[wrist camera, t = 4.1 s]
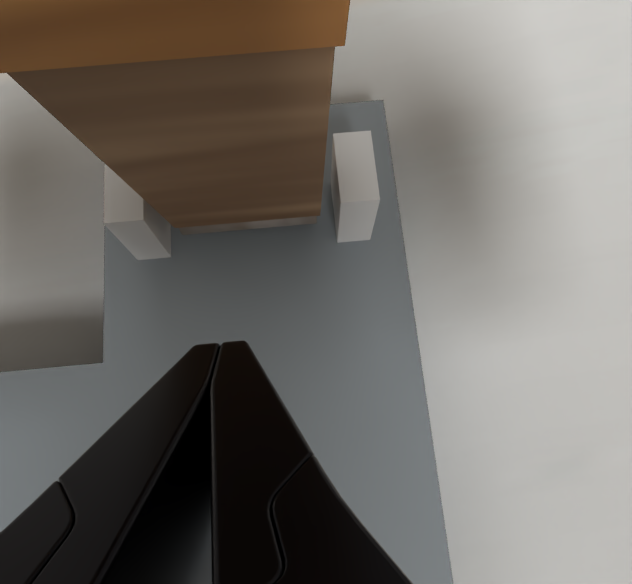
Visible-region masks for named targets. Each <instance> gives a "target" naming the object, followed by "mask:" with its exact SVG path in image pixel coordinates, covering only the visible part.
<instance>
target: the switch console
mask: <svg viewBox="0 0 632 584" xmlns="http://www.w3.org/2000/svg"><path fill="white" fill-rule="evenodd" d="M103 223H104V224H105V243H104V323H103V363H94V364H83V365H72V366H61V367H50V368H39V369H29V370H18V371H7V372H0V532H1V531H2V530H4V529H5V528H6V527H7V526H8V525H9V524H10V523H11V522H12V521H13V520H14V519H15V518H16V517H18V516H19V515H20V514H21V513H22V512H23V511H24V510H25V509H26V508H27V507H28V506H29V505H30V504H31V503H33V502H34V501H35V500H36V499H37V498H38V497H39V496H40V495H41V494H42V493H43V492H44V491H45V490H46V489H47V488H48V487H49V486H50V485H51V484H52V483H53V482H55V481H58V482H59V480H58V479H59V477H60V476H61V475H62V474H63V473H64V472H65V471H66V470H67V469H68V468H69V467H70V466H71V465H72V464H73V463H74V462H75V461H76V460H77V459H78V458H79V457H80V456H81V455H82V454H83V453H84V452H85V451H86V450H87V449H88V448H89V447H90V446H91V445H92V444H93V443H94V442H95V441H97V440H98V439H99V438H100V437H101V436H102V435H103V434H104V433H105V432H106V431H107V430H108V429H109V428H110V427H111V426H112V425H113V424H114V423H115V422H116V421H117V420H118V419H119V418H120V417H121V416H122V415H123V414H124V413H125V412H126V411H127V410H128V409H129V408H130V407H131V406H132V405H133V404H134V403H135V402H136V401H138V400H139V399H140V398H141V397H142V396H143V395H144V394H145V393H146V392H147V391H148V390H149V389H150V388H151V387H152V386H153V385H154V384H155V383H156V382H157V381H158V380H159V379H160V378H161V377H162V376H163V375H164V374H165V373H166V372H167V371H168V370H169V369H170V368H171V367H172V366H173V365H174V364H175V363H176V362H177V361H179V360H180V359H181V358H182V357H183V356H184V355H185V354H186V353H187V352H188V351H189V350H190V349H191V348H192V347H193V346H194V345H197V344H209V343H218V344H220V346H221V344H222V343H224V342H230V341H241V340H244V341H246V342H247V343H248V344H249V346H250V348H251V349H252V351H253V353H254V354H255V356H256V358H257V359H258V361H259V363H260V364H261V366H262V368H263V369H264V371H265V373H266V374H267V376H268V378H269V379H270V381H271V383H272V384H273V386H274V388H275V389H276V391H277V393H278V394H279V396H280V398H281V399H282V401H283V403H284V404H285V406H286V408H287V409H288V411H289V413H290V414H291V416H292V418H293V419H294V421H295V423H296V424H297V426H298V428H299V429H300V431H301V433H302V434H303V436H304V438H305V439H306V441H307V443H308V444H309V446H310V448H311V449H312V451H313V453H314V455H315V457H316V458H317V459H318V461H319V462H320V464H321V466H322V467H323V469H324V471H325V472H326V474H327V475H328V477H329V478H330V480H331V482H332V483H333V485H334V486H335V488H336V489H337V491H338V492H339V494H340V495H341V497H342V498H343V499H344V501H345V502H346V503H347V504H348V506H349V507H350V508H351V510H352V511H353V512H354V513H355V515H356V516H357V517H358V519H359V520H360V521H361V522H362V524H363V525H364V526H365V527H366V528H367V530H368V531H369V532H370V533H371V534H372V535H373V537H374V538H375V539H376V540H377V541H378V543H379V544H380V545H381V546H382V547H383V548H384V550H385V551H386V552H387V553H388V554H389V556H390V557H391V558H392V559H393V560H394V561H395V563H396V564H397V565H398V566H399V567H400V569H401V570H402V571H403V572H404V573H405V574H406V576H407V577H408V578H409V579H410V580H411V582H412V583H413V584H453V578H452V572H451V565H450V558H449V551H448V544H447V537H446V530H445V523H444V516H443V509H442V503H441V496H440V489H439V482H438V475H437V468H436V461H435V454H434V447H433V440H432V434H431V427H430V420H429V413H428V406H427V399H426V392H425V385H424V378H423V371H422V365H421V358H420V351H419V344H418V337H417V330H416V323H415V316H414V309H413V302H412V296H411V289H410V282H409V275H408V268H407V261H406V254H405V247H404V240H403V233H402V226H401V220H400V213H399V206H398V199H397V192H396V185H395V178H394V171H393V164H392V157H391V151H390V144H389V137H388V130H387V123H386V116H385V109H384V102H383V100H377V101H365V102H353V103H341V104H330V108H329V120H328V131H327V143H326V155H325V166H324V178H323V189H322V201H321V212H320V216H317V223H316V224H305V225H293V226H282V227H270V228H258V229H247V230H235V231H224V232H212V233H201V234H189V235H182V234H181V232H180V230H179V228H174V227H173V226H172V225H171V224H170V223H169V222H168V221H167V220H166V219H165V218H163V217H162V216H161V215H160V214H159V213H158V212H157V211H156V210H155V209H154V208H153V207H152V206H150V205H149V204H148V203H147V202H146V201H145V200H144V199H143V198H142V197H141V196H140V195H139V194H137V193H136V192H135V191H134V190H133V189H132V188H131V187H130V186H129V185H128V184H127V183H126V182H124V181H123V180H122V179H121V178H120V177H119V176H118V175H117V174H116V173H115V172H114V171H113V170H111V169H110V168H109V167H108V166H107V165H106V164H105V163H104V221H103Z"/></svg>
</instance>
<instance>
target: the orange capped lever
mask: <svg viewBox="0 0 632 584" xmlns="http://www.w3.org/2000/svg"><path fill="white" fill-rule="evenodd" d="M349 5H350V0H0V73H7V74H9V75H10V76H11V77H12V78H13V79H14V80H15V81H16V82H17V83H18V84H19V85H20V86H22V87H23V88H24V89H25V90H26V91H27V92H28V93H29V94H30V95H31V96H32V97H33V98H35V99H36V100H37V101H38V102H39V103H40V104H41V105H42V106H43V107H44V108H45V109H46V110H48V111H49V112H50V113H51V114H52V115H53V116H54V117H55V118H56V119H57V120H58V121H59V122H61V123H62V124H63V125H64V126H65V127H66V128H67V129H68V130H69V131H70V132H71V133H72V134H74V135H75V136H76V137H77V138H78V139H79V140H80V141H81V142H82V143H83V144H84V145H85V146H87V147H88V148H89V149H90V150H91V151H92V152H93V153H94V154H95V155H96V156H97V157H98V158H100V159H101V160H102V161H103V162H104V163H105V164H106V165H107V166H108V167H109V168H110V169H111V170H113V171H114V172H115V173H116V174H117V175H118V176H119V177H120V178H121V179H122V180H123V181H124V182H126V183H127V184H128V185H129V186H130V187H131V188H132V189H133V190H134V191H135V192H136V193H137V194H139V195H140V196H141V197H142V198H143V199H144V200H145V201H146V202H147V203H148V204H149V205H150V206H152V207H153V208H154V209H155V210H156V211H157V212H158V213H159V214H160V215H161V216H162V217H163V218H165V219H166V220H167V221H168V222H169V223H170V224H171V225H172V226H173V227H174V228H179V230H180V232H181V234H182V235H189V234H201V233H212V232H224V231H235V230H247V229H258V228H270V227H282V226H293V225H305V224H316V223H317V216H320V212H321V201H322V189H323V178H324V166H325V155H326V143H327V131H328V120H329V108H330V97H331V85H332V74H333V62H334V50H335V46H345V39H346V30H347V22H348V13H349Z"/></svg>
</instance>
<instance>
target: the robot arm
mask: <svg viewBox="0 0 632 584" xmlns="http://www.w3.org/2000/svg"><path fill="white" fill-rule="evenodd" d="M58 480H59V482H58V481H55V482H53V483H52V484H51V485H50V486H49V487H48V488H47V489H46V490H45V491H44V492H43V493H42V494H41V495H40V496H39V497H38V498H37V499H36V500H35V501H34V502H33V503H31V504H30V505H29V506H28V507H27V508H26V509H25V510H24V511H23V512H22V513H21V514H20V515H19V516H18V517H16V518H15V519H14V520H13V521H12V522H11V523H10V524H9V525H8V526H7V527H6V528H5V529H4V530H2V531H1V532H0V584H413V583H412V582H411V580H410V579H409V578H408V577H407V576H406V574H405V573H404V572H403V571H402V570H401V569H400V567H399V566H398V565H397V564H396V563H395V561H394V560H393V559H392V558H391V557H390V556H389V554H388V553H387V552H386V551H385V550H384V548H383V547H382V546H381V545H380V544H379V543H378V541H377V540H376V539H375V538H374V537H373V535H372V534H371V533H370V532H369V531H368V530H367V528H366V527H365V526H364V525H363V524H362V522H361V521H360V520H359V519H358V517H357V516H356V515H355V513H354V512H353V511H352V510H351V508H350V507H349V506H348V504H347V503H346V502H345V501H344V499H343V498H342V497H341V495H340V494H339V492H338V491H337V489H336V488H335V486H334V485H333V483H332V482H331V480H330V478H329V477H328V475H327V474H326V472H325V471H324V469H323V467H322V466H321V464H320V462H319V461H318V459H317V458H316V457H315V455H314V453H313V451H312V449H311V448H310V446H309V444H308V443H307V441H306V439H305V438H304V436H303V434H302V433H301V431H300V429H299V428H298V426H297V424H296V423H295V421H294V419H293V418H292V416H291V414H290V413H289V411H288V409H287V408H286V406H285V404H284V403H283V401H282V399H281V398H280V396H279V394H278V393H277V391H276V389H275V388H274V386H273V384H272V383H271V381H270V379H269V378H268V376H267V374H266V373H265V371H264V369H263V368H262V366H261V364H260V363H259V361H258V359H257V358H256V356H255V354H254V353H253V351H252V349H251V348H250V346H249V344H248V343H247V342H246V341H244V340H241V341H230V342H224V343H222V344H221V346H220V344H218V343H209V344H197V345H194V346H193V347H192V348H191V349H190V350H189V351H188V352H187V353H186V354H185V355H184V356H183V357H182V358H181V359H180V360H179V361H177V362H176V363H175V364H174V365H173V366H172V367H171V368H170V369H169V370H168V371H167V372H166V373H165V374H164V375H163V376H162V377H161V378H160V379H159V380H158V381H157V382H156V383H155V384H154V385H153V386H152V387H151V388H150V389H149V390H148V391H147V392H146V393H145V394H144V395H143V396H142V397H141V398H140V399H139V400H138V401H136V402H135V403H134V404H133V405H132V406H131V407H130V408H129V409H128V410H127V411H126V412H125V413H124V414H123V415H122V416H121V417H120V418H119V419H118V420H117V421H116V422H115V423H114V424H113V425H112V426H111V427H110V428H109V429H108V430H107V431H106V432H105V433H104V434H103V435H102V436H101V437H100V438H99V439H98V440H97V441H95V442H94V443H93V444H92V445H91V446H90V447H89V448H88V449H87V450H86V451H85V452H84V453H83V454H82V455H81V456H80V457H79V458H78V459H77V460H76V461H75V462H74V463H73V464H72V465H71V466H70V467H69V468H68V469H67V470H66V471H65V472H64V473H63V474H62V475H61V476H60V477H59V479H58Z"/></svg>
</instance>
